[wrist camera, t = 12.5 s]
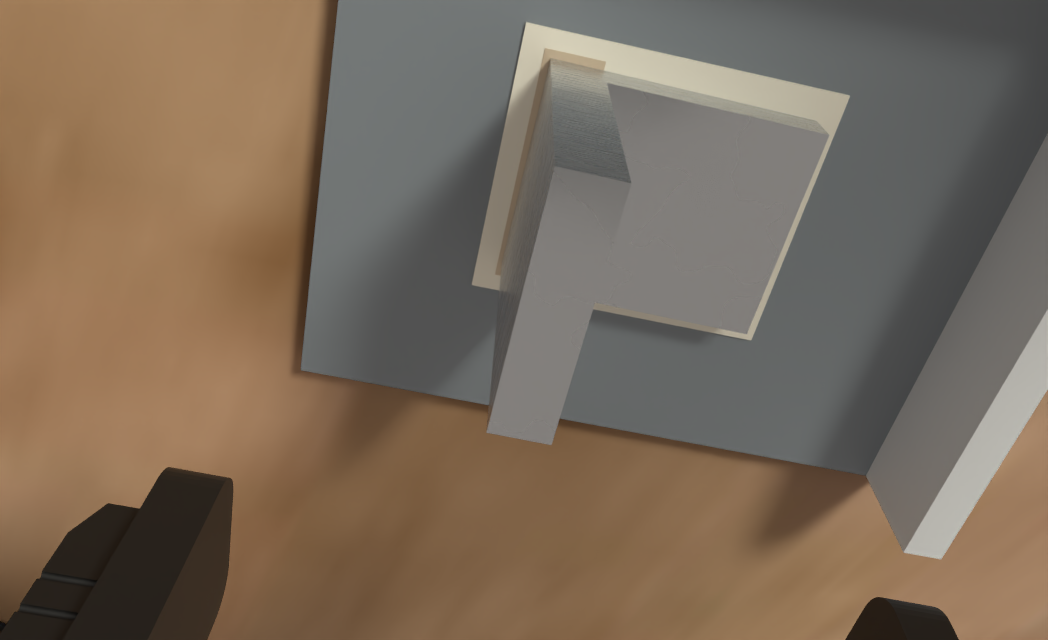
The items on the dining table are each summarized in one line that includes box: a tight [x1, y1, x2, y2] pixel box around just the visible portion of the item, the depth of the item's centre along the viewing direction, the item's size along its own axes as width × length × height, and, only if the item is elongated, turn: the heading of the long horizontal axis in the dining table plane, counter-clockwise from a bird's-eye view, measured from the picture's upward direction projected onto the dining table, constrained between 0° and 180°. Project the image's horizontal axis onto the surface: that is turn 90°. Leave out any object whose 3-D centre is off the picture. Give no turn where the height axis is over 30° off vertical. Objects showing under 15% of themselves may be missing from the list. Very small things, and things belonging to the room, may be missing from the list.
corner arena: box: [301, 0, 1048, 559], centre depth 23 cm, size 18×20×4 cm
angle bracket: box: [486, 58, 829, 445], centre depth 21 cm, size 7×6×8 cm
